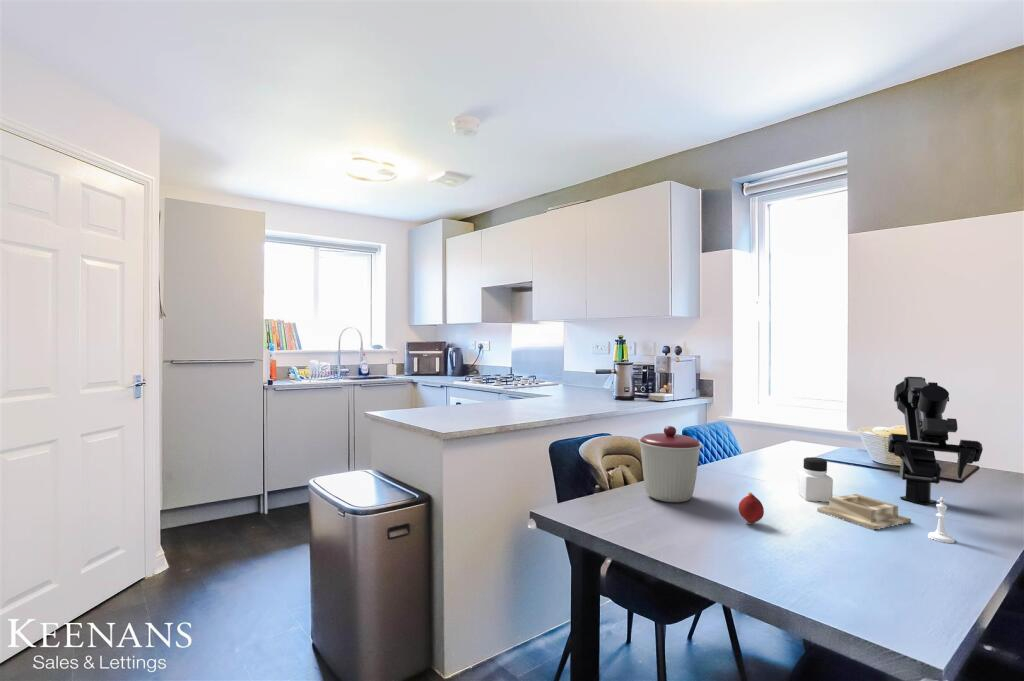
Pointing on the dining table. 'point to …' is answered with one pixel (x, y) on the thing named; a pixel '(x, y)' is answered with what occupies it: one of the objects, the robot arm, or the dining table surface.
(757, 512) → the onion
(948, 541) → the chess piece
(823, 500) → the medicine bottle
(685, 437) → the canister
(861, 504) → the socket block
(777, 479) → the dining table surface
